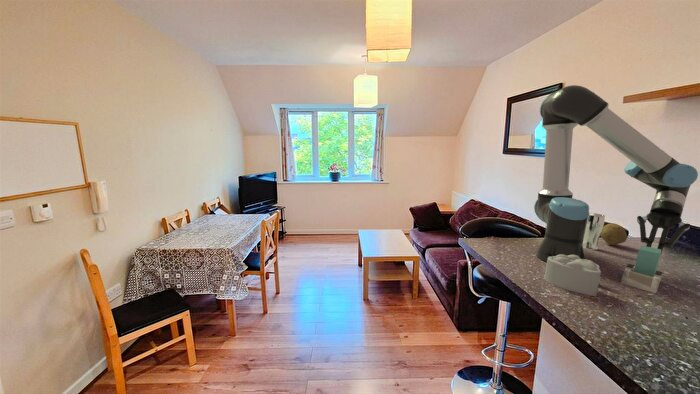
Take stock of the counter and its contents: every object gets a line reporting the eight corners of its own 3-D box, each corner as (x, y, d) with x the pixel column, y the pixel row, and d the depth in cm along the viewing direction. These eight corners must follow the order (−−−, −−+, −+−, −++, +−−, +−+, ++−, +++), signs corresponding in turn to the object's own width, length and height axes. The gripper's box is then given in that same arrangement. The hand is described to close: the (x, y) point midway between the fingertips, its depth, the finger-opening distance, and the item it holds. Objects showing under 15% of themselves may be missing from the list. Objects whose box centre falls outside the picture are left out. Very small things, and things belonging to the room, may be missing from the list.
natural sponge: (591, 241, 132) (595, 220, 130) (609, 241, 133) (613, 220, 131) (611, 248, 123) (615, 226, 122) (629, 248, 124) (634, 226, 122)
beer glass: (597, 247, 124) (603, 214, 121) (600, 252, 118) (607, 217, 116) (577, 243, 128) (583, 211, 125) (579, 248, 122) (585, 214, 119)
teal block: (635, 273, 95) (642, 245, 93) (654, 278, 92) (661, 249, 90) (632, 278, 91) (639, 249, 90) (651, 284, 88) (659, 253, 86)
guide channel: (624, 273, 98) (627, 257, 97) (666, 284, 91) (671, 267, 90) (614, 286, 89) (617, 268, 88) (660, 300, 81) (665, 281, 80)
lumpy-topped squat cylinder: (597, 297, 81) (603, 269, 80) (543, 283, 89) (547, 257, 87) (594, 284, 90) (599, 258, 88) (545, 272, 97) (549, 248, 96)
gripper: (693, 216, 99) (678, 273, 92) (641, 209, 109) (623, 259, 102) (697, 203, 94) (681, 261, 87) (642, 196, 104) (624, 248, 97)
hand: (650, 260), depth 95 cm, fingers closed
